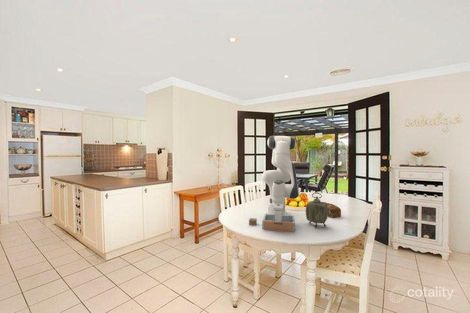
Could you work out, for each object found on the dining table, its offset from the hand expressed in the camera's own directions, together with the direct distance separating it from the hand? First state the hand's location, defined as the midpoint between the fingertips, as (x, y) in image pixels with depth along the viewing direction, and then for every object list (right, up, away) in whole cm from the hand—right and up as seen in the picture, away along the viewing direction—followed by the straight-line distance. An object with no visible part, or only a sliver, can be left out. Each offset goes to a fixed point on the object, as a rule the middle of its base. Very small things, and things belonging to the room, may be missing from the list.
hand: (278, 224), depth 151 cm
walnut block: (-17, -5, +13) cm, 22 cm away
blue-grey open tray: (+2, -5, +9) cm, 10 cm away
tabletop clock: (+30, -5, +11) cm, 33 cm away
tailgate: (0, -4, 0) cm, 4 cm away
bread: (+52, -5, +42) cm, 67 cm away
